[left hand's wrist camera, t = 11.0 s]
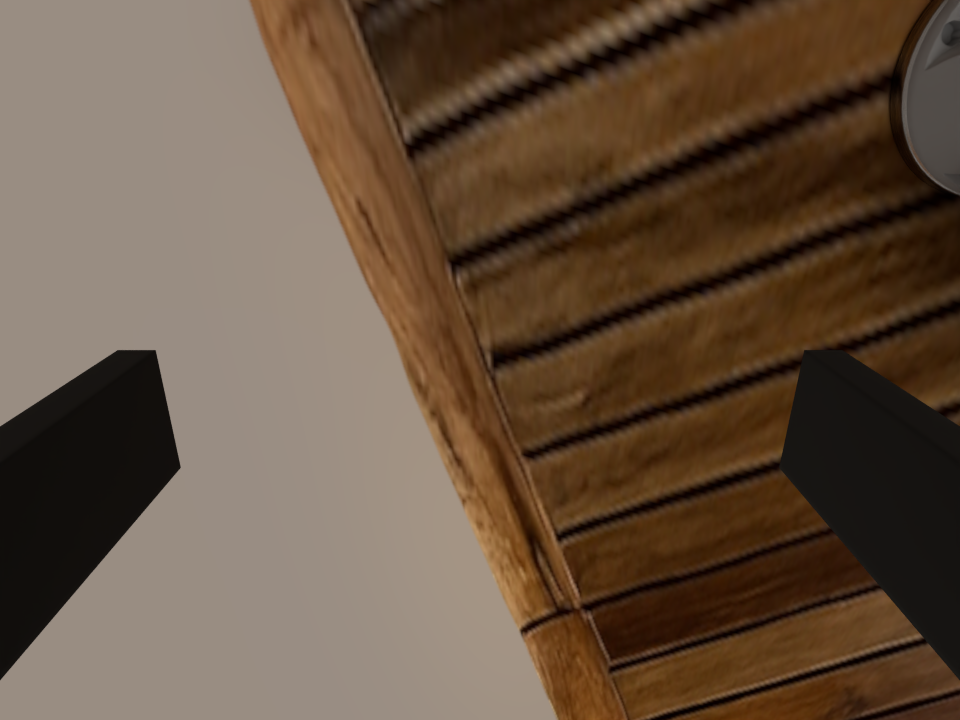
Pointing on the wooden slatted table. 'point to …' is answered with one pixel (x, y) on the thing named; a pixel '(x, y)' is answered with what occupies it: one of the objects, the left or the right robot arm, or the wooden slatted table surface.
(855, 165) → the wooden slatted table surface
